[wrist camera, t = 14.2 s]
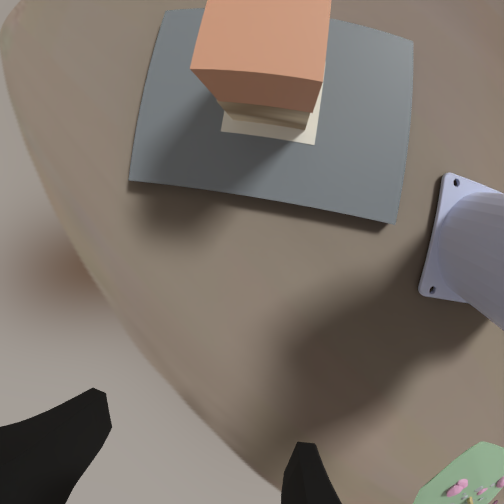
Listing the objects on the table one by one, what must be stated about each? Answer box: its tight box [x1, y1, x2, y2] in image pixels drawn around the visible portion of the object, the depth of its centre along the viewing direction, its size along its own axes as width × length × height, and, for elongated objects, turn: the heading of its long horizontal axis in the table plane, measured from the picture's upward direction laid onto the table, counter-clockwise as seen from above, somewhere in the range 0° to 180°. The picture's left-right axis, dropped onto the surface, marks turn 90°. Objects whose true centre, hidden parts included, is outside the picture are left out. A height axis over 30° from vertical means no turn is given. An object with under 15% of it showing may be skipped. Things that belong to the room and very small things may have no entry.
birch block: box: [217, 100, 310, 130], centre depth 13 cm, size 4×4×4 cm
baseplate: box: [129, 8, 413, 225], centre depth 15 cm, size 16×12×1 cm
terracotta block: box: [190, 0, 331, 113], centre depth 9 cm, size 4×4×4 cm
